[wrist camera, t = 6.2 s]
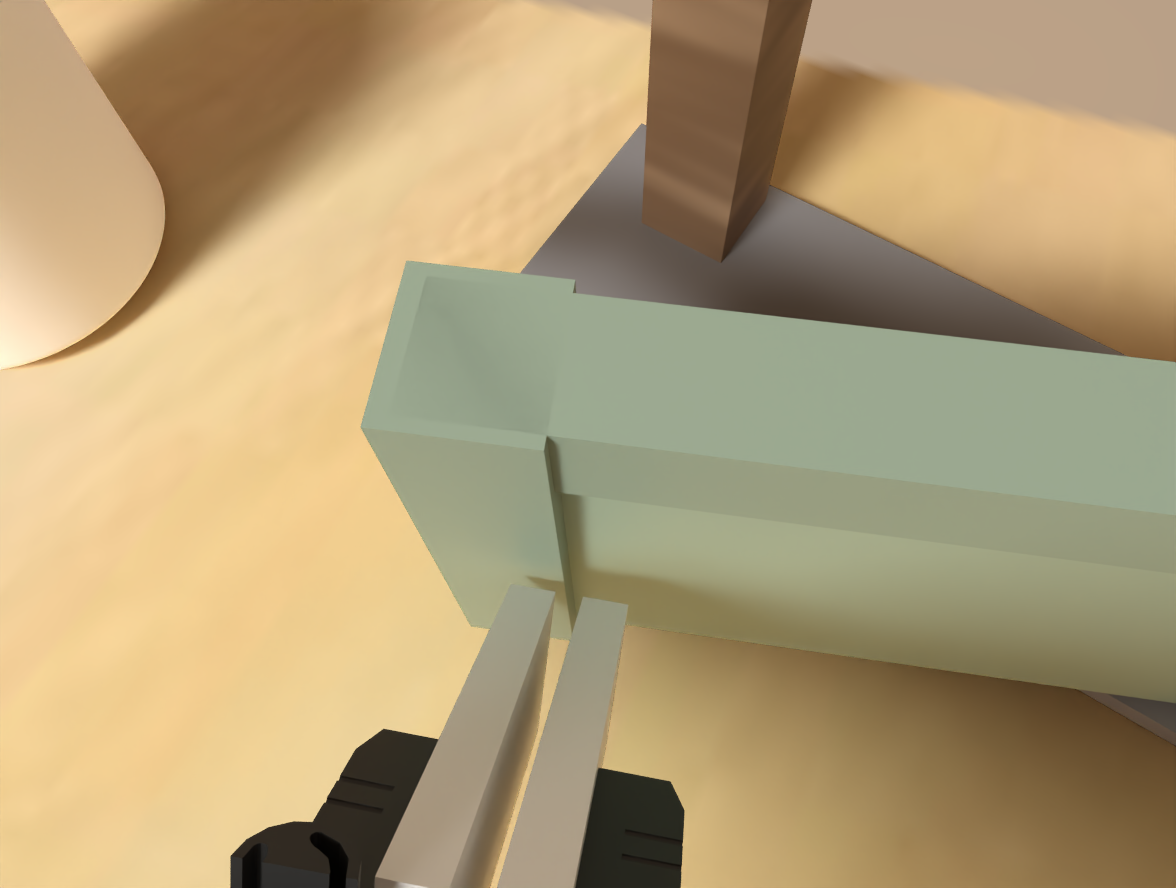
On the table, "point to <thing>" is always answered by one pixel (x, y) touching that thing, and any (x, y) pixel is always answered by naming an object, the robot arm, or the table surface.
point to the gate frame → (762, 215)
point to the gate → (787, 479)
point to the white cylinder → (64, 193)
